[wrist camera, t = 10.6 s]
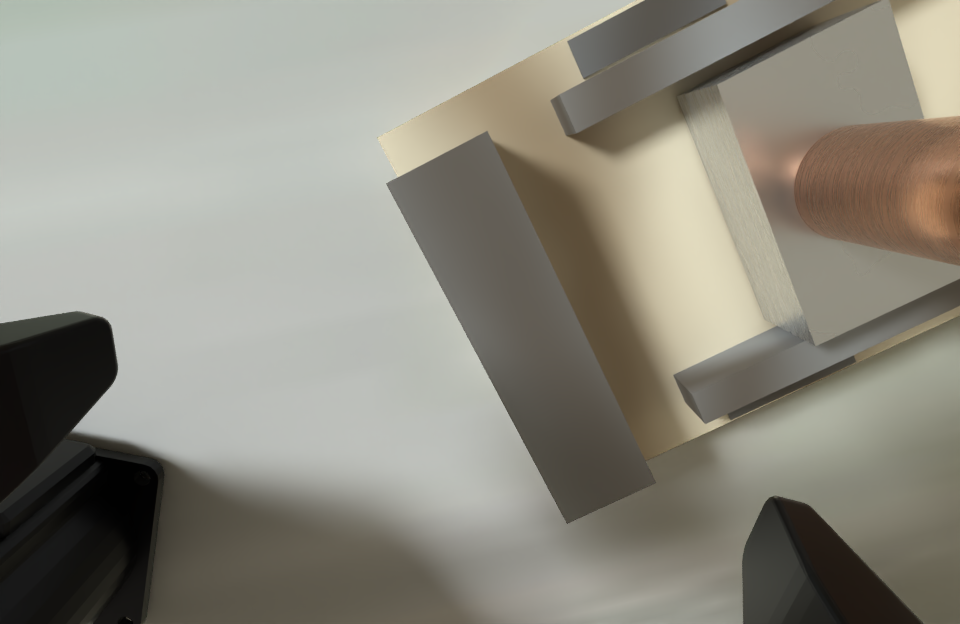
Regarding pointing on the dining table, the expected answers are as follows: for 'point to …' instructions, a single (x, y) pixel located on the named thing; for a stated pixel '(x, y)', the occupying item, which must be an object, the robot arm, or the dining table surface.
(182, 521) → the dining table surface
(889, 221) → the press jaw
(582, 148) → the press frame
